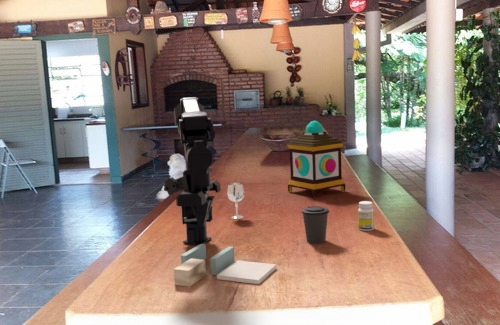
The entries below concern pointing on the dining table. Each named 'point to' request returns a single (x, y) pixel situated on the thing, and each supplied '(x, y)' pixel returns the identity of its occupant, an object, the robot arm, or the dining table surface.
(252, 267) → the ceramic tile
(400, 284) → the dining table surface
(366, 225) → the supplement bottle
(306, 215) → the coffee cup
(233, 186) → the wineglass
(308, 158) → the decorative lantern
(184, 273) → the maple block
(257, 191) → the dining table surface
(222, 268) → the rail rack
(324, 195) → the dining table surface
